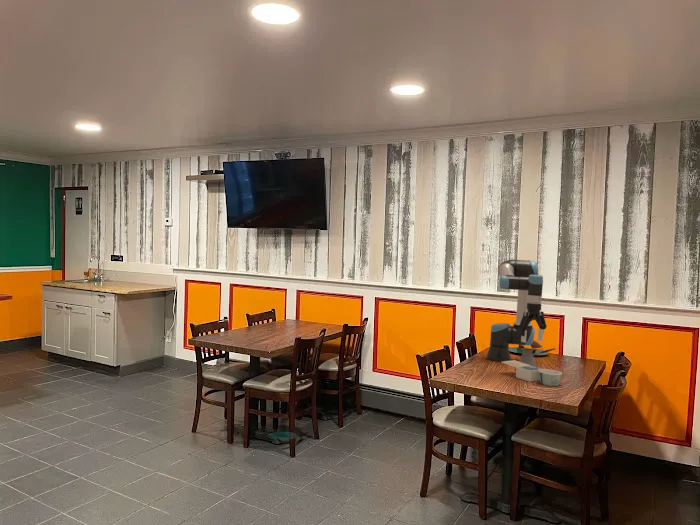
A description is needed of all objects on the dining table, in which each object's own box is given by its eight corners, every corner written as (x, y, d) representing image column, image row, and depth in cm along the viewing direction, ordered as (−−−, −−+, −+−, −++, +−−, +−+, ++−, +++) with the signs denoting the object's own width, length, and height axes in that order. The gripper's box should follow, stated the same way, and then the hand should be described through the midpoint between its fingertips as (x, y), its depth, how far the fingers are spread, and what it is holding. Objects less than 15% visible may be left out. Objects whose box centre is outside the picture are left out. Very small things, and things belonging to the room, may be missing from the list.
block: (530, 379, 299) (530, 368, 298) (523, 376, 303) (523, 366, 303) (536, 378, 301) (537, 367, 301) (529, 376, 305) (530, 365, 305)
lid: (516, 366, 303) (516, 367, 303) (529, 364, 309) (529, 366, 309) (501, 361, 312) (501, 362, 312) (514, 359, 318) (514, 361, 318)
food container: (549, 387, 285) (549, 374, 285) (532, 381, 296) (533, 369, 296) (566, 386, 290) (567, 373, 290) (549, 380, 301) (550, 368, 301)
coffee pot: (516, 371, 319) (517, 346, 318) (516, 367, 330) (517, 343, 329) (555, 376, 312) (556, 350, 312) (554, 372, 323) (555, 346, 323)
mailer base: (515, 377, 303) (516, 366, 303) (529, 375, 309) (529, 365, 309) (530, 381, 295) (530, 370, 295) (543, 380, 301) (544, 369, 301)
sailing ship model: (542, 359, 361) (543, 342, 361) (500, 353, 377) (501, 336, 376) (552, 353, 385) (553, 337, 384) (512, 347, 400) (513, 332, 400)
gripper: (524, 304, 291) (521, 344, 292) (554, 303, 304) (552, 341, 305) (513, 302, 297) (510, 341, 298) (543, 301, 311) (541, 338, 311)
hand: (531, 341), depth 302 cm, fingers open, 13 cm apart
